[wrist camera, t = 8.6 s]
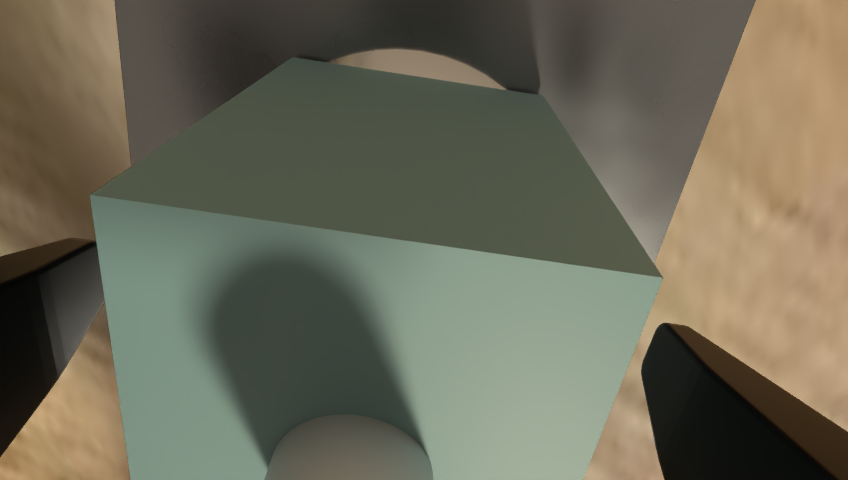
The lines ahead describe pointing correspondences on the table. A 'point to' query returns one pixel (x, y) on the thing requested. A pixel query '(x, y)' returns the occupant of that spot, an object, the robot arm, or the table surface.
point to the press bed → (462, 69)
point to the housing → (368, 286)
